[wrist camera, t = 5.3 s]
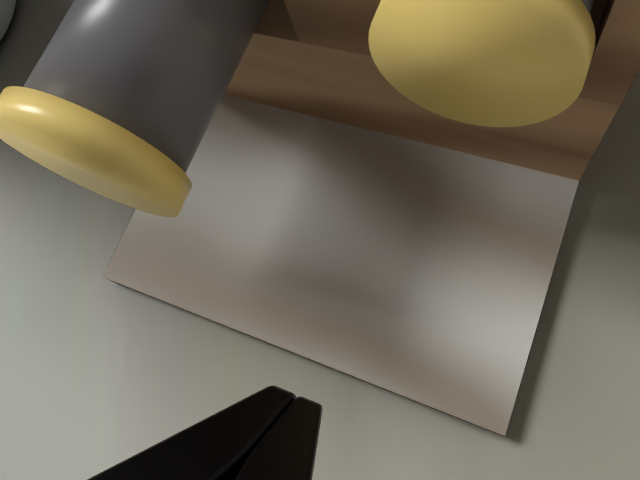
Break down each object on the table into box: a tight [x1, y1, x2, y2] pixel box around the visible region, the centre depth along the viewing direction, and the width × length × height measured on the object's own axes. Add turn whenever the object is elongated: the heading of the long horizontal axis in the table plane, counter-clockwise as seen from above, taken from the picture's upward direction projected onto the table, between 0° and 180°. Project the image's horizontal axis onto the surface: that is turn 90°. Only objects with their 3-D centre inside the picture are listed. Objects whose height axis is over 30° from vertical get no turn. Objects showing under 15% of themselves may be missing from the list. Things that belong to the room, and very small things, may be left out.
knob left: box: [0, 0, 270, 217], centre depth 14 cm, size 8×5×5 cm, turn 158°
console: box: [102, 0, 640, 436], centre depth 14 cm, size 14×15×14 cm
